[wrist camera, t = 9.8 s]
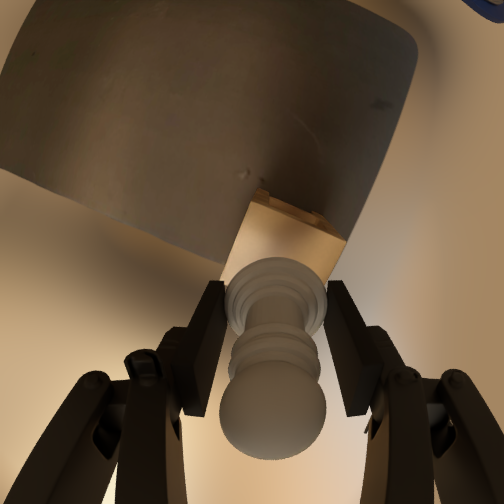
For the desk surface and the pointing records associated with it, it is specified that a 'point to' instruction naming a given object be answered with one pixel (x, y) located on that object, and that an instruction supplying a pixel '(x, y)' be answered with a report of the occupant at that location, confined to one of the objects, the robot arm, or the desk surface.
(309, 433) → the chess piece
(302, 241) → the shelf
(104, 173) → the desk surface
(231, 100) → the desk surface
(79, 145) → the desk surface
